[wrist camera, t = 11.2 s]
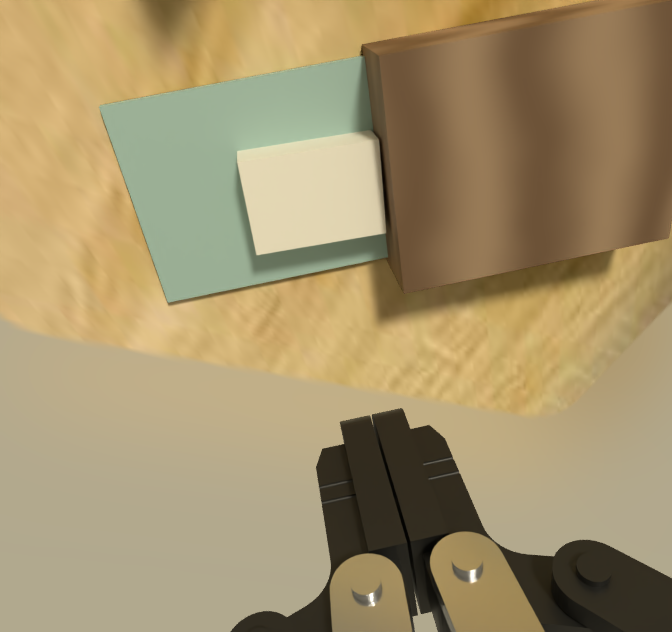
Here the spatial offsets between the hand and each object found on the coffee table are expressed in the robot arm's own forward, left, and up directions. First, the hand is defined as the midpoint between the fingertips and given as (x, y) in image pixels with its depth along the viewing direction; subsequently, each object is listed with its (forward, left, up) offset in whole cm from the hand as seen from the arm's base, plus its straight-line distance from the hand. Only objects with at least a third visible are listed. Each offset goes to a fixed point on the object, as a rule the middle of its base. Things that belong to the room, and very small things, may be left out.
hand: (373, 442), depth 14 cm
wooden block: (-12, 0, -21) cm, 24 cm away
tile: (-1, +1, -21) cm, 21 cm away
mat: (+2, 0, -21) cm, 21 cm away
